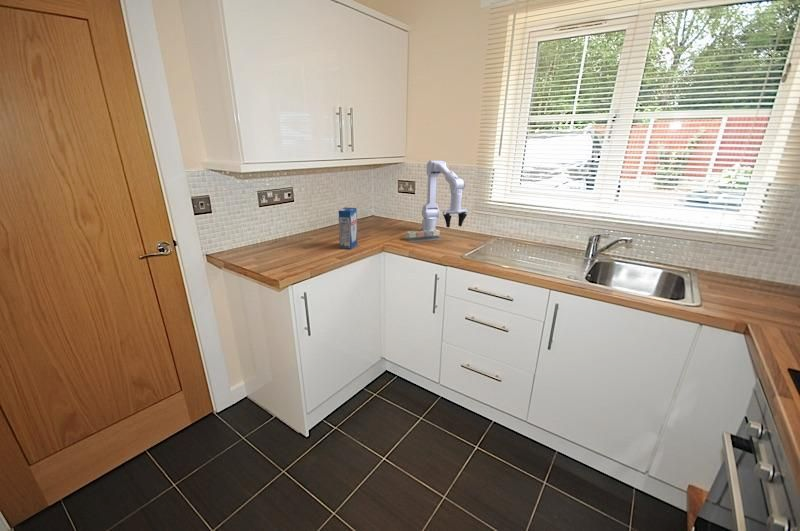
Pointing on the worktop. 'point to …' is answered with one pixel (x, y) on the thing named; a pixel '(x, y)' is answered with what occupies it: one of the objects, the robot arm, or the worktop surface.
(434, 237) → the keypad board
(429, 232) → the key
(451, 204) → the robot arm
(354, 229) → the milk carton
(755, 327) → the worktop surface
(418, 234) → the key
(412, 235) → the key
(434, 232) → the key
